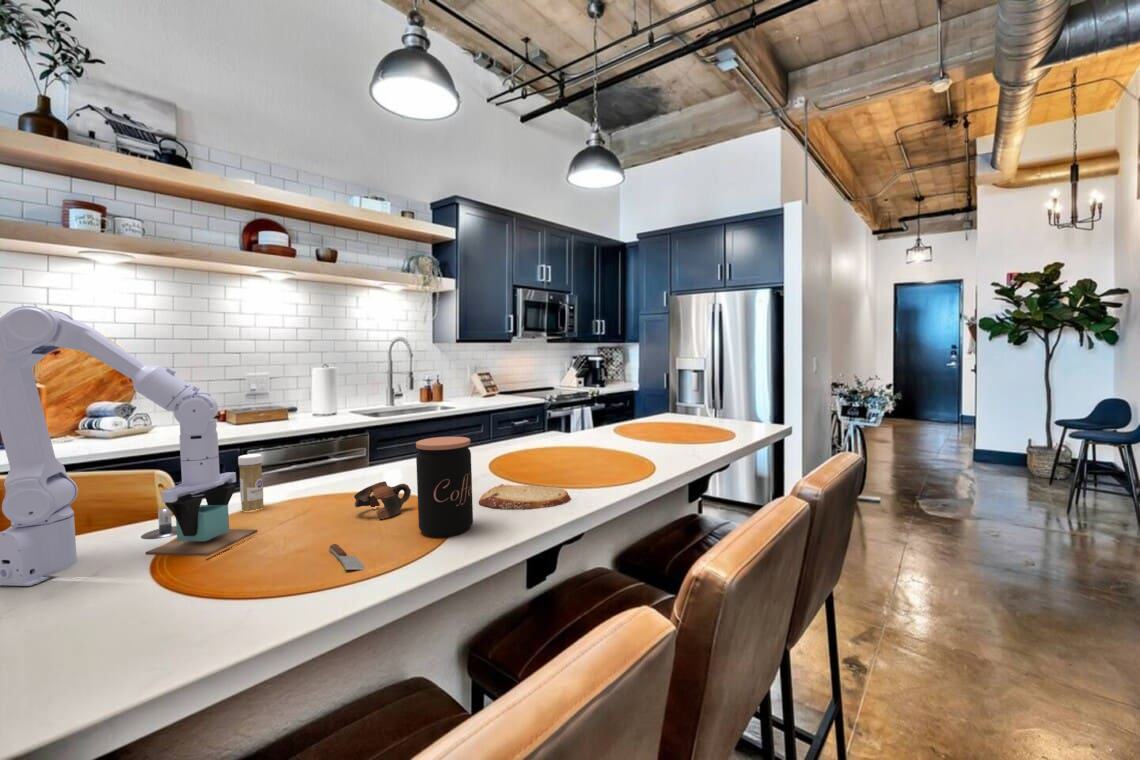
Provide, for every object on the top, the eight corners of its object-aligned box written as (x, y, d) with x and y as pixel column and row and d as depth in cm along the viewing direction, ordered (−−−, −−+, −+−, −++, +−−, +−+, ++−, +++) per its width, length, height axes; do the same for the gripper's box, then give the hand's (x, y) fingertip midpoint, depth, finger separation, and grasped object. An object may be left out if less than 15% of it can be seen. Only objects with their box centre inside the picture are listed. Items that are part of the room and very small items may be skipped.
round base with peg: (166, 543, 96) (164, 515, 96) (130, 542, 97) (128, 514, 97) (199, 529, 104) (197, 503, 103) (165, 529, 104) (164, 503, 104)
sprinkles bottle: (258, 515, 112) (255, 456, 112) (236, 517, 112) (233, 457, 111) (268, 509, 117) (265, 452, 116) (247, 510, 116) (244, 453, 116)
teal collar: (205, 541, 91) (203, 514, 91) (177, 540, 91) (175, 513, 91) (229, 530, 96) (227, 504, 96) (202, 530, 97) (201, 504, 97)
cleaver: (375, 564, 83) (343, 565, 80) (373, 573, 83) (341, 575, 80) (358, 542, 94) (329, 543, 91) (356, 550, 94) (327, 551, 91)
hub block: (208, 559, 87) (206, 523, 87) (145, 558, 89) (143, 522, 88) (257, 535, 99) (256, 503, 99) (202, 534, 100) (200, 502, 100)
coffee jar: (433, 543, 93) (430, 447, 92) (409, 529, 101) (406, 441, 100) (483, 529, 100) (480, 440, 99) (457, 517, 108) (454, 434, 107)
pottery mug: (367, 527, 105) (352, 491, 106) (362, 534, 112) (348, 501, 114) (421, 502, 112) (405, 469, 113) (413, 510, 119) (398, 479, 121)
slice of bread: (577, 500, 120) (576, 485, 120) (520, 519, 107) (520, 502, 107) (527, 488, 132) (527, 474, 132) (471, 504, 119) (470, 488, 119)
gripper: (186, 466, 86) (190, 544, 86) (248, 450, 100) (252, 517, 101) (148, 466, 86) (153, 543, 87) (216, 450, 101) (219, 517, 101)
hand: (204, 529), depth 94 cm, fingers closed on teal collar, 6 cm apart
